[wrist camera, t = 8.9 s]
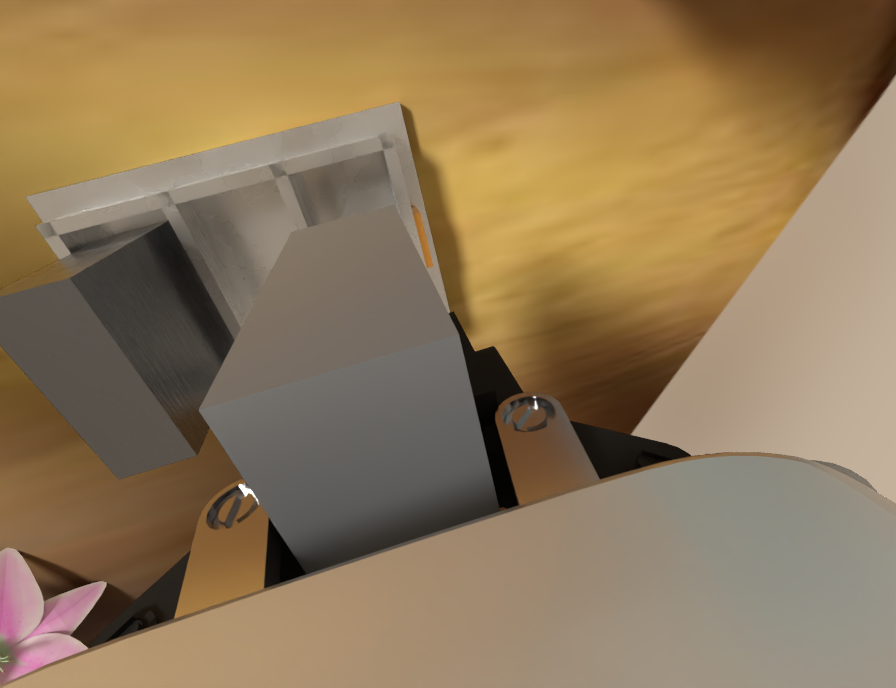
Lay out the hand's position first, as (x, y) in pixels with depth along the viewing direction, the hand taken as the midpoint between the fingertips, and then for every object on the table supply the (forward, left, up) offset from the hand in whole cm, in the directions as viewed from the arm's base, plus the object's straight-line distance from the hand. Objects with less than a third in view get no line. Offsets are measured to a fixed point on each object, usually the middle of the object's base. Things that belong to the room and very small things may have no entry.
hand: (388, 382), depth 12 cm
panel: (0, 0, -3) cm, 3 cm away
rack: (0, -5, -15) cm, 16 cm away
